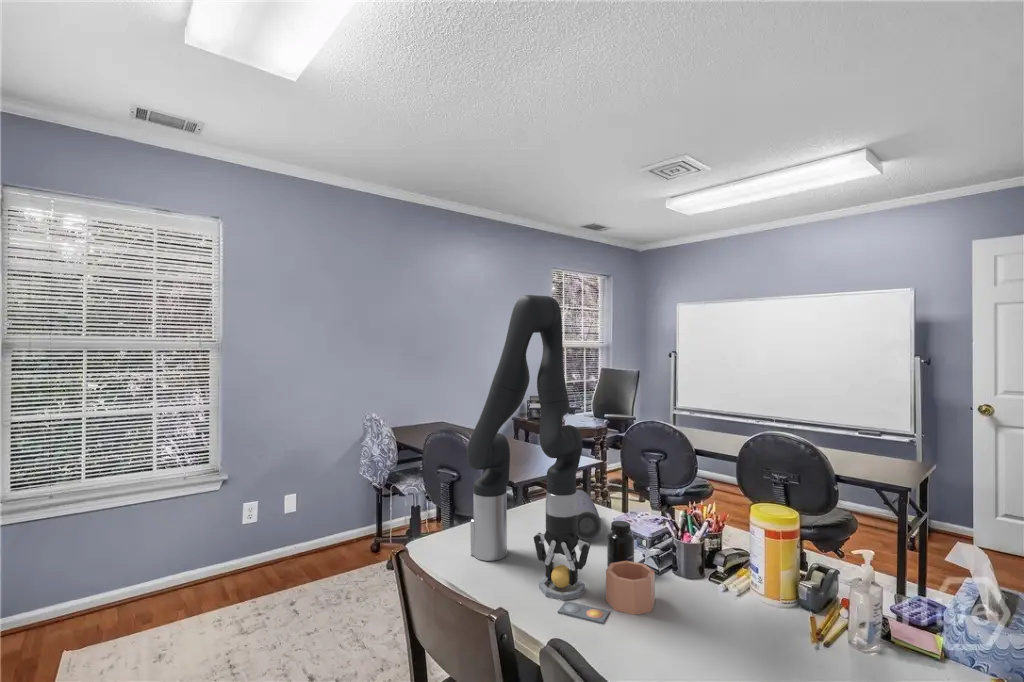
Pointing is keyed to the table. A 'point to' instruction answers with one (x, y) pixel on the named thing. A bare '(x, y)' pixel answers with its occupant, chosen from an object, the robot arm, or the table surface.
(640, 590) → the octagonal planter pot
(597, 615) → the card
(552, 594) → the gray octagonal ring
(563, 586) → the ball
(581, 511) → the bluetooth speaker
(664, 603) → the table surface
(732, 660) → the table surface
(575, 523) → the robot arm
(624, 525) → the supplement bottle
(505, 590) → the table surface
